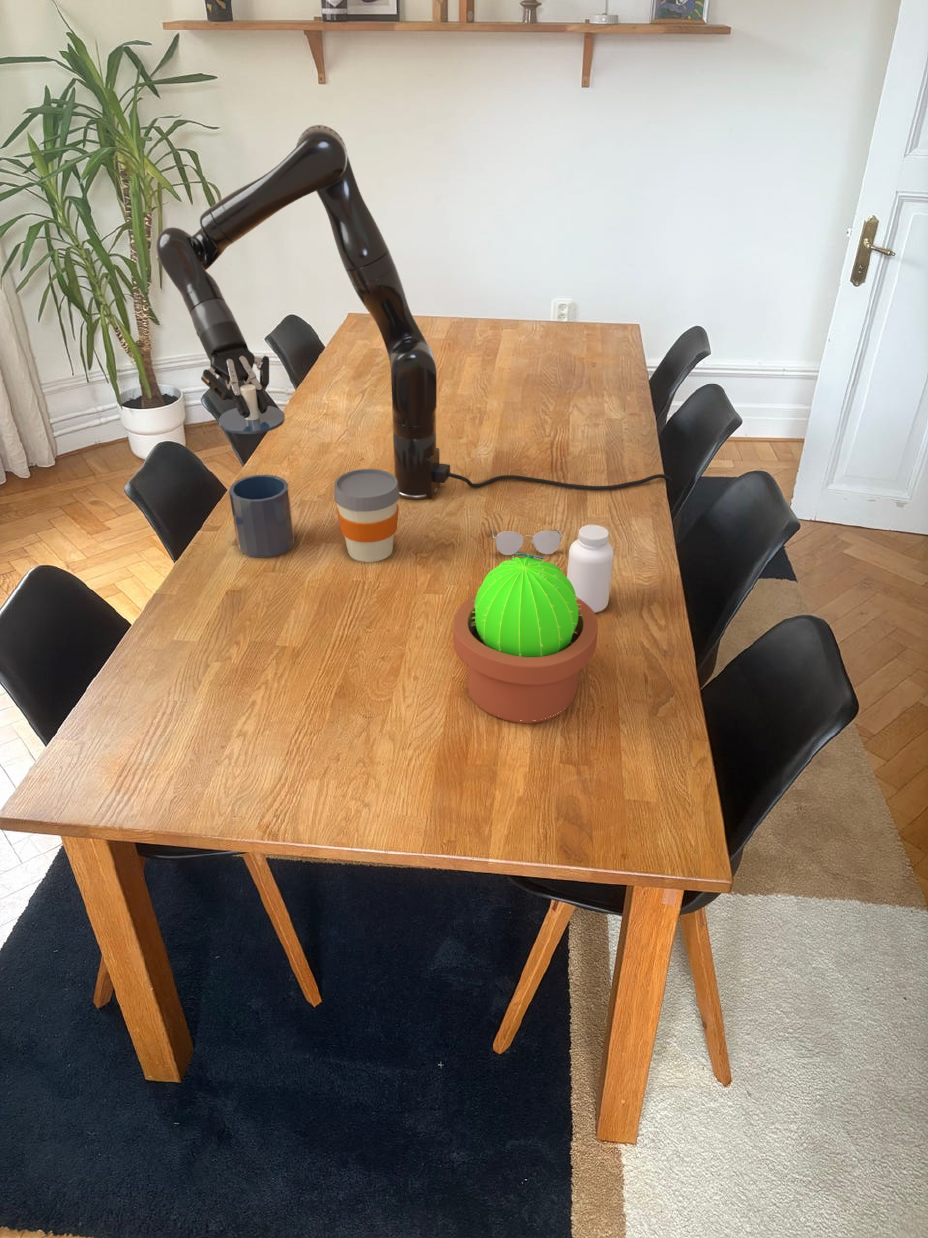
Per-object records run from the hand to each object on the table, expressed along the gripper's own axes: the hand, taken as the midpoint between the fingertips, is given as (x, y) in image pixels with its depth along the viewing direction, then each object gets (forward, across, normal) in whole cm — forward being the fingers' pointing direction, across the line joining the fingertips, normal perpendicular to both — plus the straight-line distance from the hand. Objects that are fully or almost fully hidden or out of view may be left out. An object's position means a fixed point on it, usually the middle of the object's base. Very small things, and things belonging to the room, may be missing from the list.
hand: (256, 413), depth 175 cm
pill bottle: (+58, +37, -18) cm, 71 cm away
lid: (0, 0, +3) cm, 3 cm away
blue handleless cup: (+19, -1, +20) cm, 28 cm away
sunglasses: (+42, +41, -1) cm, 58 cm away
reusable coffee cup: (+30, +14, +10) cm, 35 cm away
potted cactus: (+66, +11, -26) cm, 72 cm away
